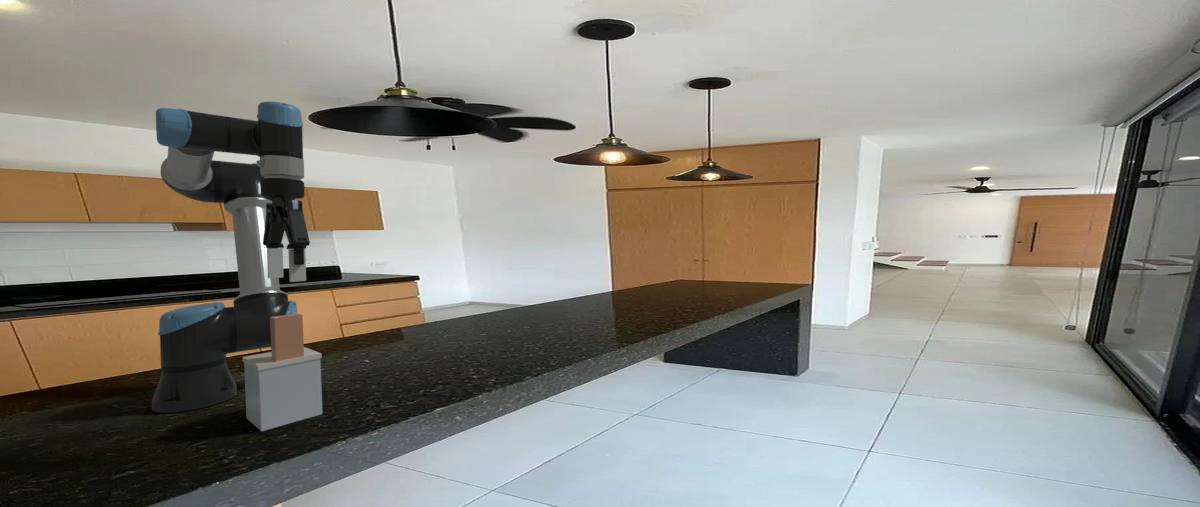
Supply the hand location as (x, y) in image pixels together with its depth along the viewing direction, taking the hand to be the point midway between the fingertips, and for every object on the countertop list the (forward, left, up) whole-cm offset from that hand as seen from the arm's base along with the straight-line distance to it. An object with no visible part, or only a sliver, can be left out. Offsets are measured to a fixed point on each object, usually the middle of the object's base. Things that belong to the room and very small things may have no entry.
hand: (286, 279), depth 93 cm
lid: (-4, 0, -18) cm, 18 cm away
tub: (-4, 0, -30) cm, 31 cm away
